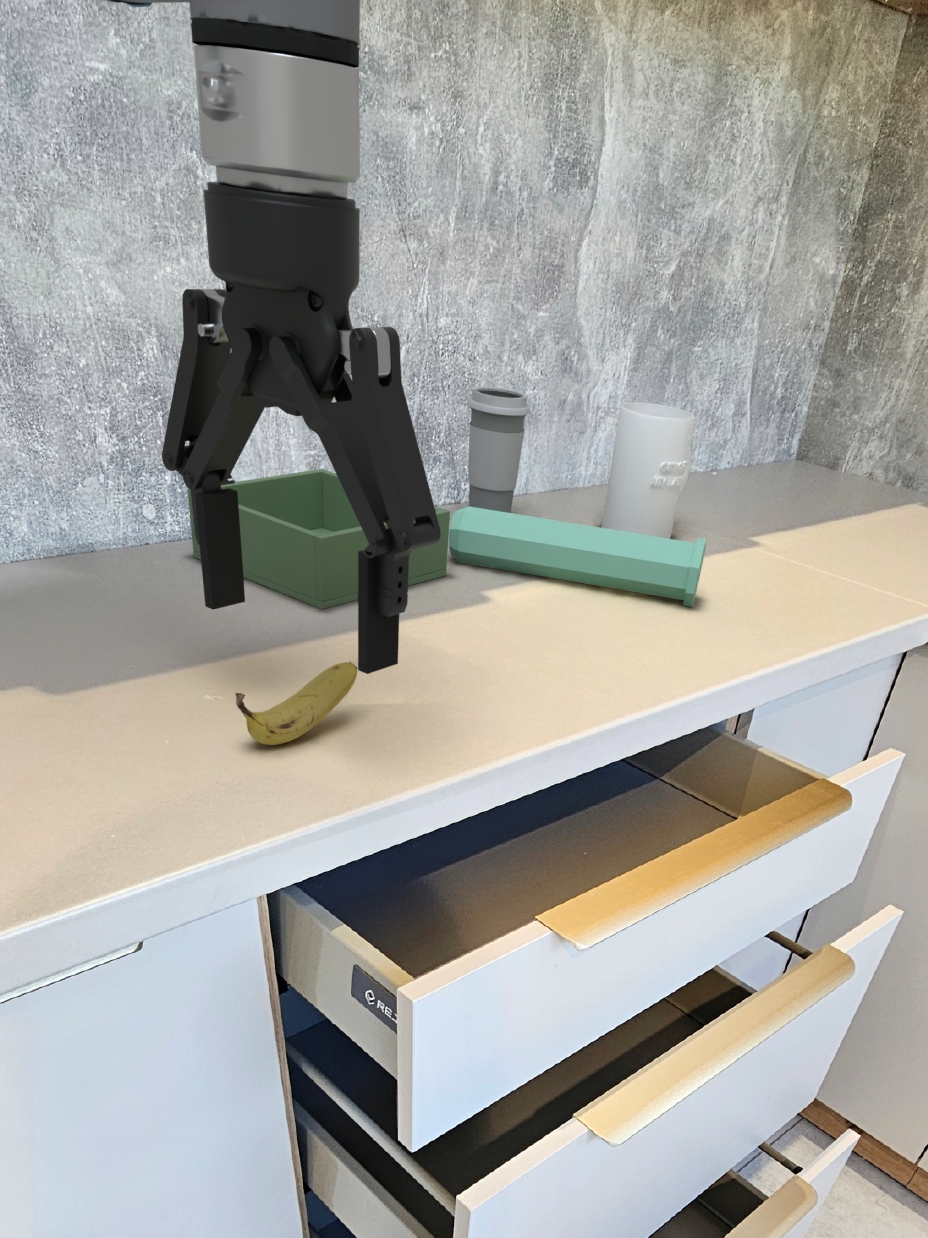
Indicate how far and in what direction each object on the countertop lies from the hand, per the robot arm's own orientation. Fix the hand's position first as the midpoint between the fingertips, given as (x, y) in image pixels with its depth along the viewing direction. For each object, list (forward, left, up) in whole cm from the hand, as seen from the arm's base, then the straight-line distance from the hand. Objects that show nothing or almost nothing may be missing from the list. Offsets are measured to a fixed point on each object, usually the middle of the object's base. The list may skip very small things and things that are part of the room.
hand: (298, 635), depth 63 cm
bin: (-25, +27, -7) cm, 38 cm away
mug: (-14, +68, -7) cm, 70 cm away
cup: (-27, +55, -7) cm, 62 cm away
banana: (0, 0, -7) cm, 7 cm away
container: (-9, +45, -7) cm, 47 cm away
